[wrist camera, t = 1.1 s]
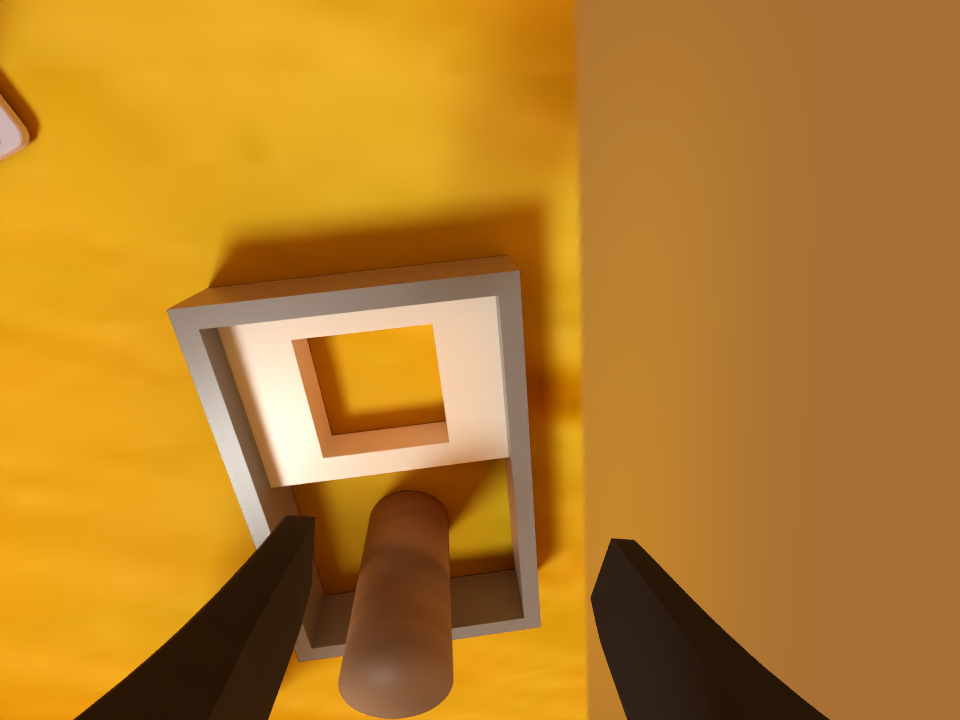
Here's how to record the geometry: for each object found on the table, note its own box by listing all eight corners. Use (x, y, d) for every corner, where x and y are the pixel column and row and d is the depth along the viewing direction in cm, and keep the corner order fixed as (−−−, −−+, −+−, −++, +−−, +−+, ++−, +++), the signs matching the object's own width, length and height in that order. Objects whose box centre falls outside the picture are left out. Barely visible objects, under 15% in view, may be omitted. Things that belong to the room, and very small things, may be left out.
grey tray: (529, 577, 26) (540, 627, 23) (313, 608, 25) (298, 662, 23) (507, 255, 19) (519, 270, 16) (207, 288, 18) (166, 309, 16)
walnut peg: (393, 562, 25) (374, 731, 17) (354, 510, 23) (316, 670, 16) (461, 534, 24) (471, 694, 17) (426, 478, 23) (421, 628, 15)
